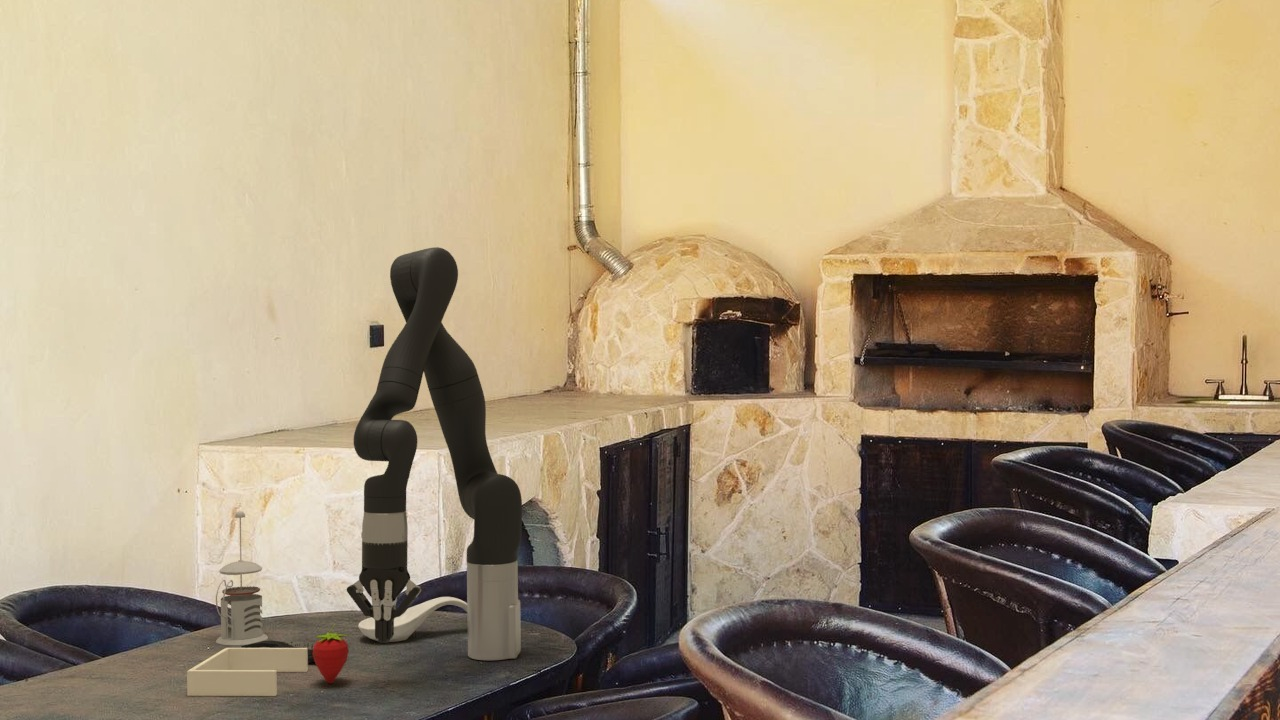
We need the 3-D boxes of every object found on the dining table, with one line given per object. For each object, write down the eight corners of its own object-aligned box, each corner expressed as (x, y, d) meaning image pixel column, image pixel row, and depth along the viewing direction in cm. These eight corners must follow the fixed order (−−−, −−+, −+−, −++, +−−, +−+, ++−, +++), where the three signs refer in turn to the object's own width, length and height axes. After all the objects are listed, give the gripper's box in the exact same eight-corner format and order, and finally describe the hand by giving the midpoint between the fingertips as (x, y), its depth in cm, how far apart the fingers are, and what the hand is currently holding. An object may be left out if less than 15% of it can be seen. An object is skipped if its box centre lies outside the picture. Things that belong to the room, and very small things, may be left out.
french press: (278, 635, 257) (276, 509, 256) (242, 648, 246) (240, 516, 246) (236, 632, 260) (234, 507, 260) (198, 645, 249) (196, 514, 249)
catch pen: (307, 670, 228) (307, 647, 228) (275, 696, 211) (274, 671, 211) (226, 670, 229) (226, 647, 229) (187, 695, 212) (187, 671, 212)
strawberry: (347, 676, 223) (346, 618, 223) (350, 687, 216) (349, 627, 216) (312, 679, 222) (311, 620, 222) (313, 690, 215) (313, 629, 215)
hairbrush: (259, 630, 250) (355, 637, 237) (260, 649, 250) (356, 657, 237) (225, 639, 243) (322, 647, 230) (226, 659, 243) (324, 667, 230)
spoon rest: (365, 649, 245) (364, 611, 245) (353, 636, 256) (352, 600, 256) (486, 636, 254) (486, 600, 254) (470, 625, 265) (469, 590, 265)
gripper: (429, 536, 222) (428, 638, 222) (353, 534, 223) (352, 635, 223) (417, 542, 214) (416, 647, 214) (339, 540, 215) (338, 645, 215)
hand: (384, 641), depth 219 cm, fingers closed
